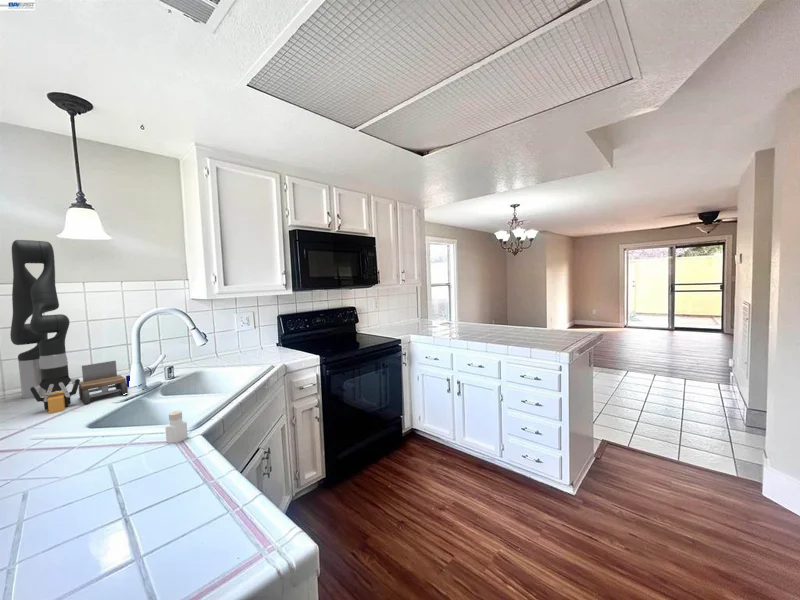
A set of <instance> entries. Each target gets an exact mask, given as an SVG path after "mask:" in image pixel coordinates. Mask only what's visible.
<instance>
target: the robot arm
mask: <svg viewBox="0 0 800 600" xmlns="http://www.w3.org/2000/svg"><path fill="white" fill-rule="evenodd" d="M11 260H12V261H11V263H12V270H13V271H12V272H13V278H12V289H11V290H12V292H11V294H12V295H11V296H12V298H11V300H12V301H11V303H12V317H11V318H12V319H11V325H10V341H11V342H12V344H13V345H15V346H24V345H33V344H36V345H35V346H34V347H32V348H31V349H28V350H26V351H24V352H20V353H19V354H18V356H17V361H18V370H19V379H20V380H19V381H20V392H21V399H22V400H28V399H35V401H36V402H37V403H39V402H42V403H43V405H44V406H43V408H44V410H45V411H47V412H49V410H48V398H49V397H50V394H51V393H53V392H59V391H63V392H64V394H65V405H66V406H65V408H68V407H69V406H70V405H71V402H72V401H71V397H72V396H73V395H76V394H77V391H78V390H79V382H81V381H80V379H79V378H70V376H69V365H68V364H69V361H68V357H67V352H66V351H67V350H66V337H67V334H68V330H69V326H70V319H69V317H68V316H67V315H66V314H63V313H62V314H45V313H48V312H49V313H50V312H53V311H56V310H58V309H59V307H60V303H59V298H58V297H59V296H58V292H57V288H56V268H55V267H56V265H55V263H56V262H55V251H54V247H53V246H52V244H51V243H50V242H49V241H47V240H45V241H44V240H29V239H16V240H14V241H13V242H12V244H11ZM26 264H43V269H42V272H41V273H40V275H39V276H38V278H37V277H35V276H34V275H33V274H32V273H31V272H30V271H29V269H28V268H27V266H26ZM43 314H45V315H43ZM30 317H31V318H30ZM29 318H30V321H29V323H26V322H27V321H28V320H29ZM53 333H56V334H55V335H54V336H53V337H51V338H48V335H49V334H53ZM70 383H71V385H72V388H71V391H69V390H68V389H67V387H68V385H69V384H70Z"/></svg>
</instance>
